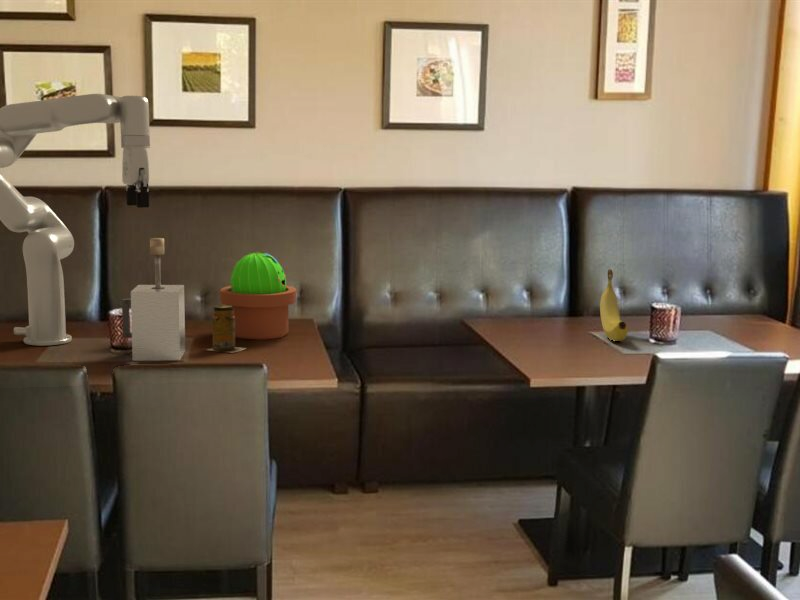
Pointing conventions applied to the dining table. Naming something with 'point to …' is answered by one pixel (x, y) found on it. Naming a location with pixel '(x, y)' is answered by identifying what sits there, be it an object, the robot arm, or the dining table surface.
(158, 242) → the plunger
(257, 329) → the potted cactus
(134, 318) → the press housing
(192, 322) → the dining table surface
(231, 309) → the condiment
